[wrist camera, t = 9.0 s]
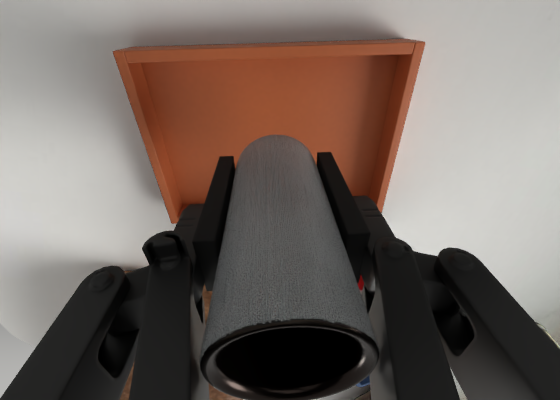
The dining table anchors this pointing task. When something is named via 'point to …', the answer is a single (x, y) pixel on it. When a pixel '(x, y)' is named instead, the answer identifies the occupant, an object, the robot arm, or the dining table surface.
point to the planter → (284, 286)
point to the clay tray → (270, 107)
